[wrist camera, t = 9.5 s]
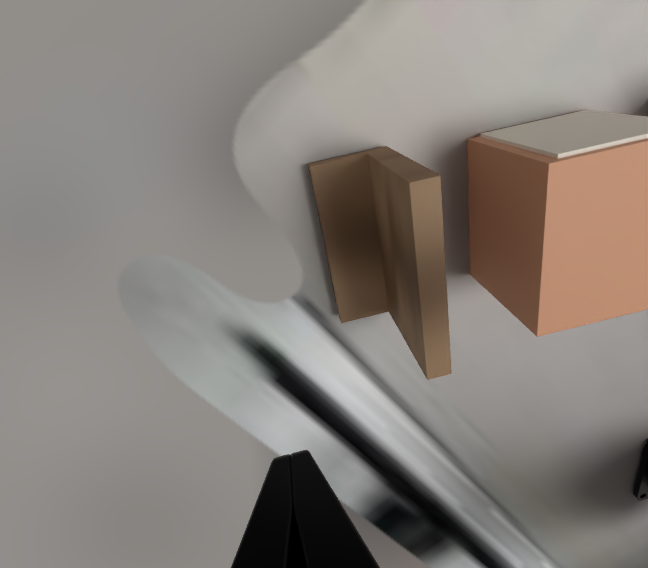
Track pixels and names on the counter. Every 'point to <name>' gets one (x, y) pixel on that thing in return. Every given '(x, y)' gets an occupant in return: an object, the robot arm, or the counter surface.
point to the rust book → (562, 218)
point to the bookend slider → (387, 246)
